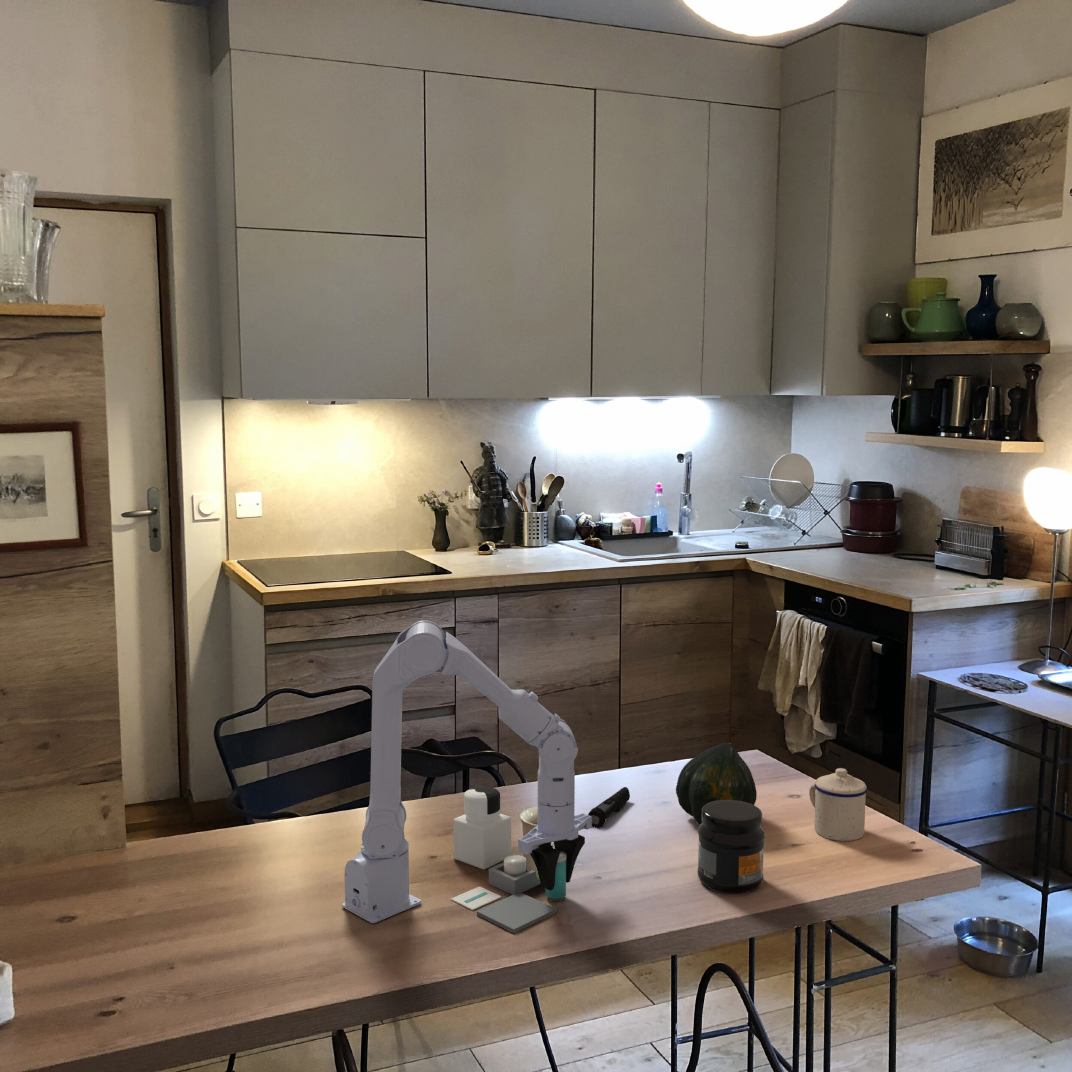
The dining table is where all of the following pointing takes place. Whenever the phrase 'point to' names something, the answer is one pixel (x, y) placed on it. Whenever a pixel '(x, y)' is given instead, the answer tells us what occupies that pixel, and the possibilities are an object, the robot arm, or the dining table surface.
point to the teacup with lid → (839, 806)
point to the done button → (515, 865)
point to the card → (475, 898)
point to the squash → (714, 780)
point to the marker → (559, 880)
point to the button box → (512, 880)
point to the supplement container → (731, 846)
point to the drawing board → (516, 912)
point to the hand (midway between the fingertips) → (555, 884)
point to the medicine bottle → (482, 829)
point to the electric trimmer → (609, 807)
